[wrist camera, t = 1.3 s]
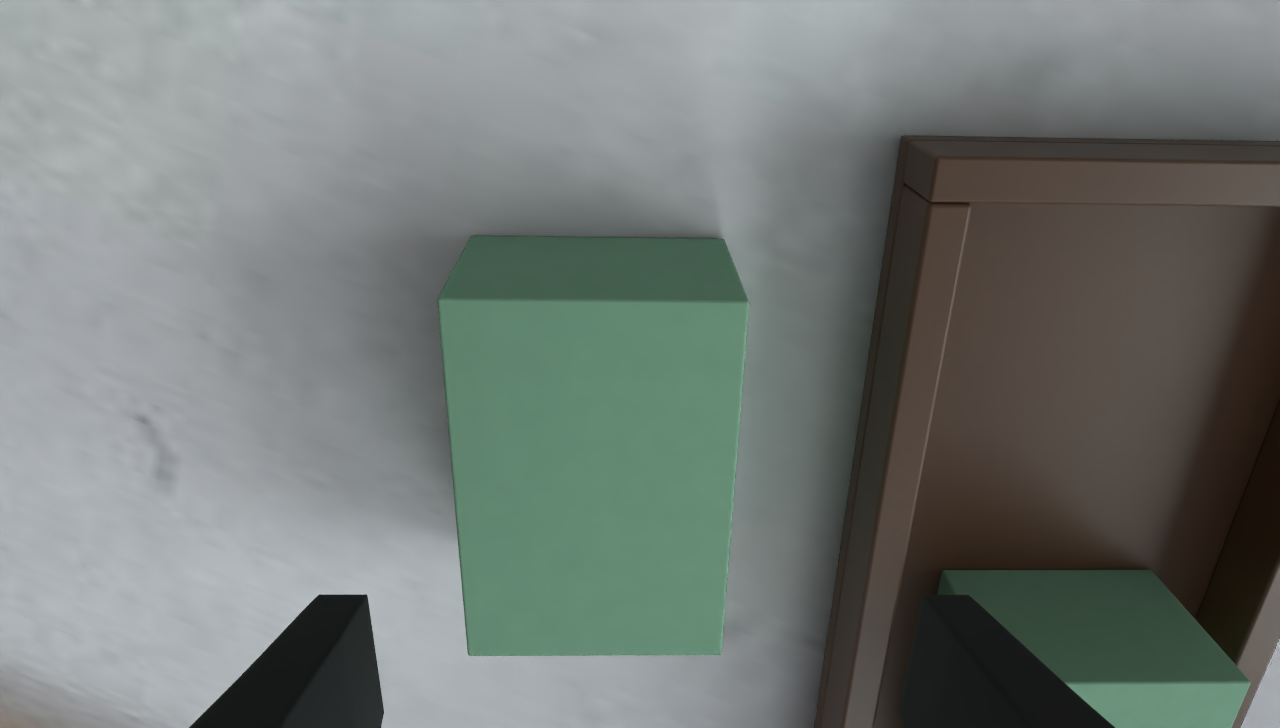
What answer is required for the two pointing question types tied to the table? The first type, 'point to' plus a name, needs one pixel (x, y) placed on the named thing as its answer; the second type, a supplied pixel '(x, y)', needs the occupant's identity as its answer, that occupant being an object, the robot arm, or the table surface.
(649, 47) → the table surface
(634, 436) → the green rectangular block
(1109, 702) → the green block
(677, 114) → the table surface
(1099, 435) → the shallow wooden tray
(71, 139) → the table surface
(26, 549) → the table surface
